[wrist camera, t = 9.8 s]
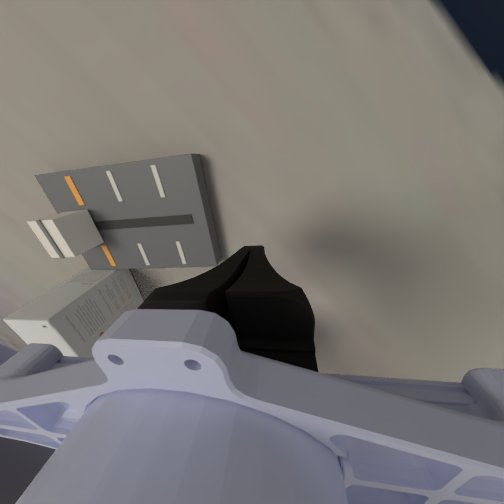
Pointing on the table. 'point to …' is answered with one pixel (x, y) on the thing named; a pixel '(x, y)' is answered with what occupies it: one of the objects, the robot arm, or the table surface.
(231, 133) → the table surface
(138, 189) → the panel
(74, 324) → the small box
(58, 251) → the fader
